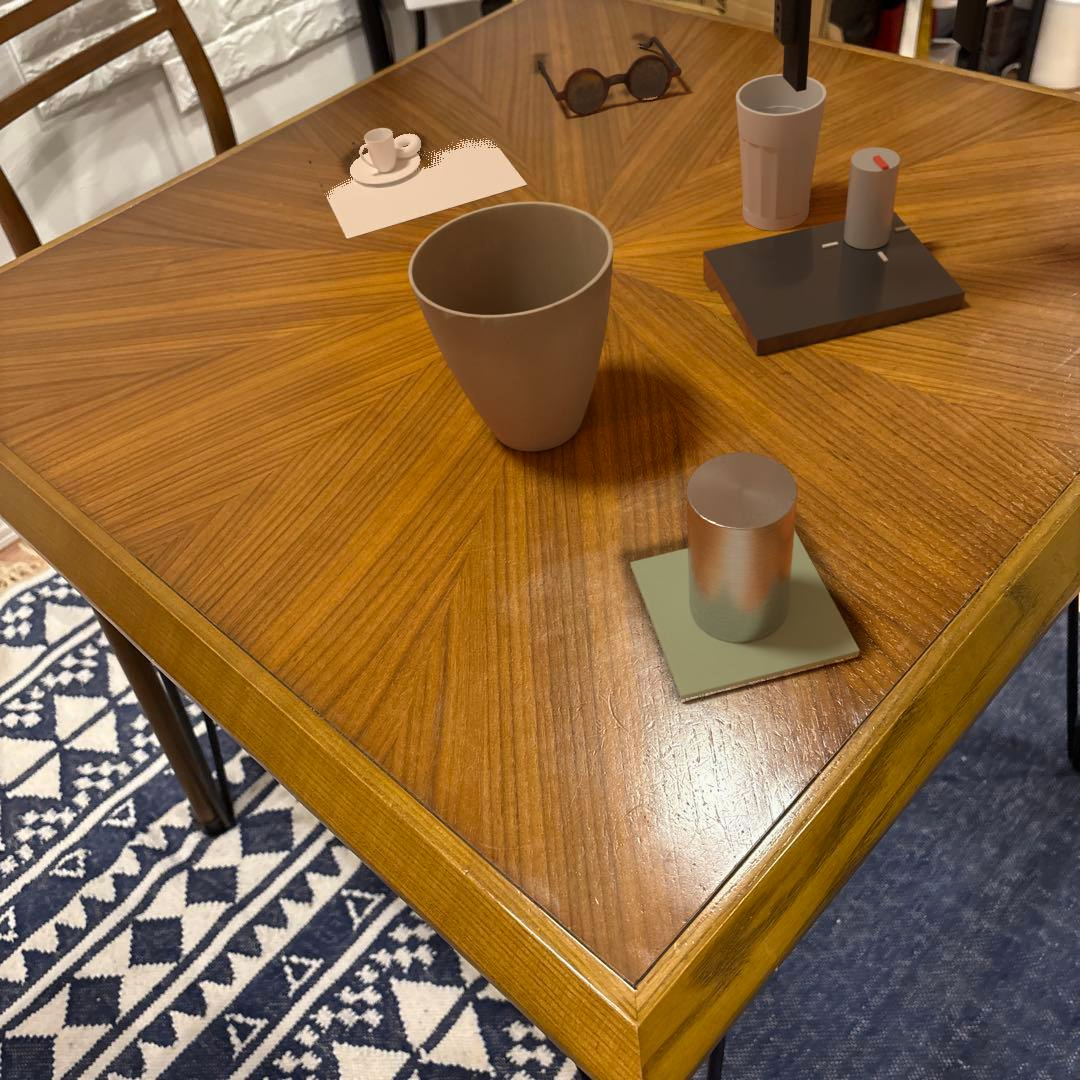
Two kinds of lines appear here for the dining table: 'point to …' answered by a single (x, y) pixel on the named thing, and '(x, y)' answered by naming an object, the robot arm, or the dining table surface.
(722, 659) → the trivet
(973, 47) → the robot arm
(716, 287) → the hob control panel
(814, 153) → the cup
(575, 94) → the eyeglasses
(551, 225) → the plant pot
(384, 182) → the teacup and saucer
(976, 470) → the dining table surface
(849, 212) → the hob knob
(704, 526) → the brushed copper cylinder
